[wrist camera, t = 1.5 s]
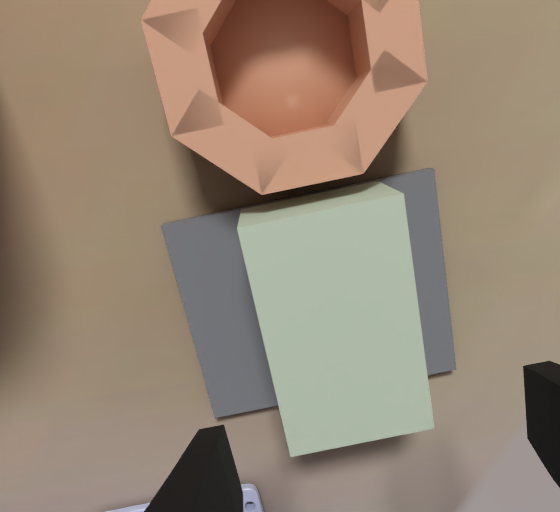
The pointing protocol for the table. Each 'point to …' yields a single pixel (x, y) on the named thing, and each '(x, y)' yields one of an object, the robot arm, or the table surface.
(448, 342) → the coaster
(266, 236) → the pale green block
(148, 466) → the table surface
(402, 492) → the table surface
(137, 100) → the table surface
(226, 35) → the bowl
